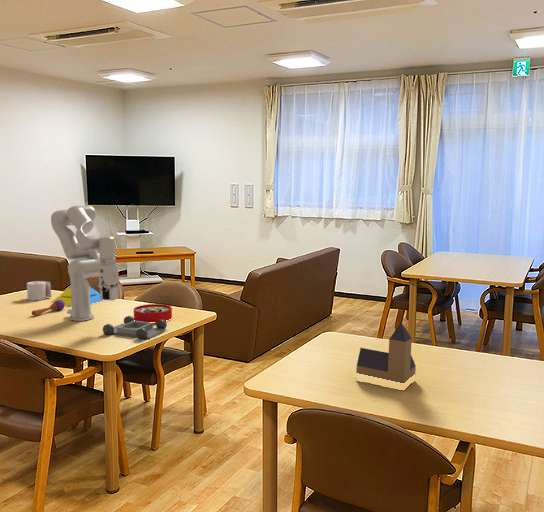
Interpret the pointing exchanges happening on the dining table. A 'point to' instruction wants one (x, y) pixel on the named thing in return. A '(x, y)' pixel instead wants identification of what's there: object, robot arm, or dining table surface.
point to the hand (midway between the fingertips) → (109, 297)
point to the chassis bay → (136, 328)
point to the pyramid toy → (67, 297)
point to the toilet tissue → (38, 290)
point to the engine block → (110, 293)
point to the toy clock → (152, 312)
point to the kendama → (55, 306)
